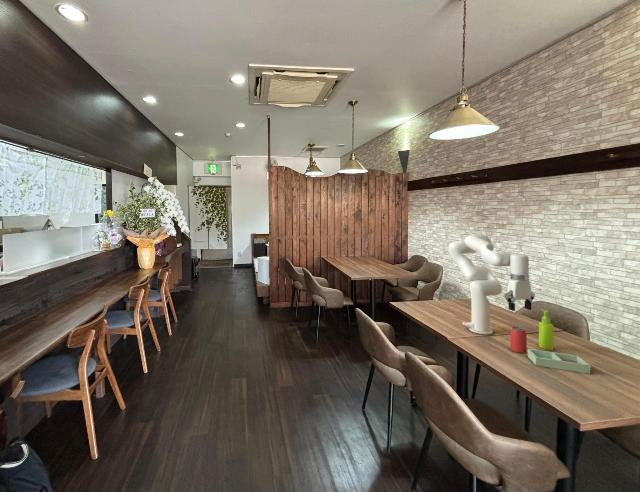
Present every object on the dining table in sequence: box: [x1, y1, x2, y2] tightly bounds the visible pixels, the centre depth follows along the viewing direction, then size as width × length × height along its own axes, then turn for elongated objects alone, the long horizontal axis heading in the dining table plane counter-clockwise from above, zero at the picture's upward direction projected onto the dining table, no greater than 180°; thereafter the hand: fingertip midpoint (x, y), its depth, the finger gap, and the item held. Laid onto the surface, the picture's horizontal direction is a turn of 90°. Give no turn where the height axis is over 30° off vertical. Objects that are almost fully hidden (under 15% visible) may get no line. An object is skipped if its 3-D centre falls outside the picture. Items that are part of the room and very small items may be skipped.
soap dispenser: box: [538, 309, 554, 351], centre depth 156 cm, size 6×7×20 cm
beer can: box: [510, 326, 528, 354], centre depth 152 cm, size 7×7×12 cm
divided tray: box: [527, 348, 591, 375], centre depth 138 cm, size 19×10×4 cm, turn 66°
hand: (519, 309), depth 152 cm, fingers open, 9 cm apart
